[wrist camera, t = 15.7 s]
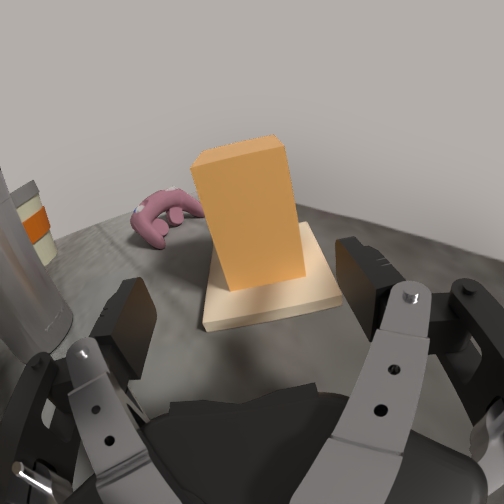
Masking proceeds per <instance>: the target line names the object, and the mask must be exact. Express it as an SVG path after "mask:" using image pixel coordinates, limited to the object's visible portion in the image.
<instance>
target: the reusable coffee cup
mask: <svg viewBox="0 0 504 504" xmlns="http://www.w3.org/2000/svg"><path fill="white" fill-rule="evenodd" d="M10 196H11V198H12V201H13V203H14V206H15V208H16V210H17V213H18V215H19V217H20V220H21V222H22V224H23V226H24V228H25V230H26V232H27V235H28V237H29V239H30V241H31V243H32V245H33V247H34V249H35V250H36V252H37V254H38V256H39V258H40V260H41V262H42V263H43V265H44V267H45V266H46V265H47V264H48V263H49V262H50V261H52V259H53V258H54V257H55V256H56V254H57V249H56V246H55V244H54V241H53V238H52V235H51V233H50V230H49V229H50V224H49V220H48V217H47V214H46V211H45V207H44V206H42V204H41V201H40V197H39V190H38V188H37V186H36V184H35V182H34V180H32V181H30V182H28V183H27V184H25V185H23V186H22V187H20V188H18V189H17V190H15V191H14V192H12V193H11V194H10Z"/></svg>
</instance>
